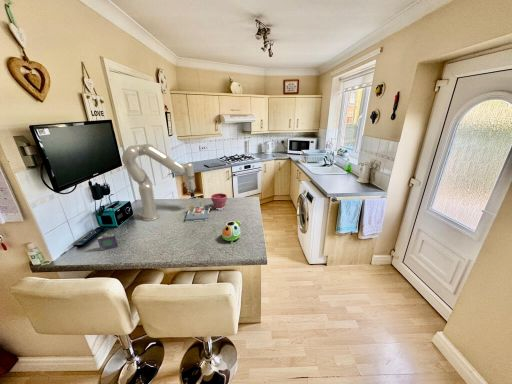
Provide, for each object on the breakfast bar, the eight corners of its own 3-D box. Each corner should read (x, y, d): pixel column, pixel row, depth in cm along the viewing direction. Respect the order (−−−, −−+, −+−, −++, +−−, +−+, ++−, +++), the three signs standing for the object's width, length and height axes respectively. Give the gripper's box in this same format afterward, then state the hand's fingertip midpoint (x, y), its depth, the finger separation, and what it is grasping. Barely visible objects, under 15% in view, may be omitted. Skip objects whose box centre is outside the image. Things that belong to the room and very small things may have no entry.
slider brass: (190, 210, 177) (189, 206, 175) (190, 209, 180) (190, 205, 178) (193, 210, 177) (193, 206, 176) (194, 209, 180) (193, 205, 179)
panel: (185, 221, 163) (184, 217, 162) (191, 209, 186) (190, 205, 184) (207, 220, 165) (207, 215, 164) (210, 208, 188) (210, 204, 186)
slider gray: (205, 210, 178) (204, 205, 177) (205, 208, 181) (205, 204, 180) (208, 209, 179) (208, 205, 177) (208, 208, 181) (208, 204, 180)
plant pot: (229, 206, 193) (228, 193, 189) (224, 212, 181) (223, 199, 176) (215, 204, 196) (214, 192, 192) (209, 210, 184) (208, 197, 179)
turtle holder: (247, 233, 147) (247, 218, 143) (233, 245, 132) (232, 230, 128) (233, 228, 153) (233, 214, 149) (218, 240, 138) (217, 225, 134)
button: (195, 213, 169) (195, 211, 168) (196, 210, 173) (196, 208, 172) (200, 212, 169) (200, 210, 169) (201, 210, 173) (201, 208, 173)
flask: (100, 251, 127) (96, 236, 123) (101, 248, 129) (97, 234, 125) (117, 247, 131) (113, 233, 127) (118, 245, 133) (114, 231, 129)
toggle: (199, 206, 182) (199, 201, 182) (200, 206, 183) (199, 201, 184) (201, 206, 182) (201, 201, 182) (201, 206, 183) (201, 201, 184)
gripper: (192, 179, 168) (195, 199, 174) (195, 174, 182) (198, 193, 188) (183, 180, 167) (186, 200, 173) (187, 175, 181) (190, 194, 187)
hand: (192, 196), depth 181 cm, fingers closed
